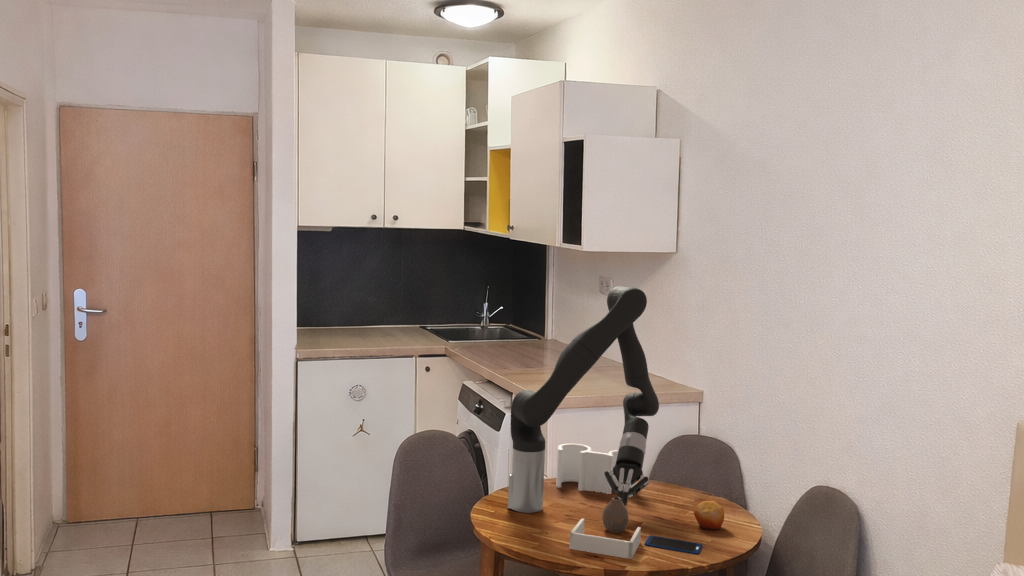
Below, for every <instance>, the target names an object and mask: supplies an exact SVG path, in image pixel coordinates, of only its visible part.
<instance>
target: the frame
mask: <svg viewBox="0 0 1024 576" xmlns="http://www.w3.org/2000/svg"><path fill="white" fill-rule="evenodd" d="M641 531H642V527H640V526H637V528H636V529H635V531H634V532H633V534H632V537H631V538H630V540H625V539H617V538H612V537H605V536H599V535H592V534H586V533H585V518H581V519H580V520H579V521H578V522H577V523H576V525H575V526H574V527H573V528H572V530H571V531H570V533H569V545H568V546H569V547H568V549H569V550H575V551H581V552H585V551H586V553H593V554H598V555H605V556H610V557H617V558H623V559H629V560H632V559H633V557H634V555H635V553H636V552H637V550H638V548H639V546H640V543H641Z"/></svg>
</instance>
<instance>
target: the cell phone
mask: <svg viewBox="0 0 1024 576" xmlns="http://www.w3.org/2000/svg"><path fill="white" fill-rule="evenodd" d="M643 545H644V546H646V547H650V548H657V549H662V550H668V551H673V552H680V553H684V554H690V555H698V556H699V555H700V554H701V552H702V549H703V544H702V543H698V542H694V541H687V540H682V539H674V538H670V537H665V536H664V537H663V536H659V535H649V536H648V537H647V538H646V540H645V542H644V543H643Z"/></svg>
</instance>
